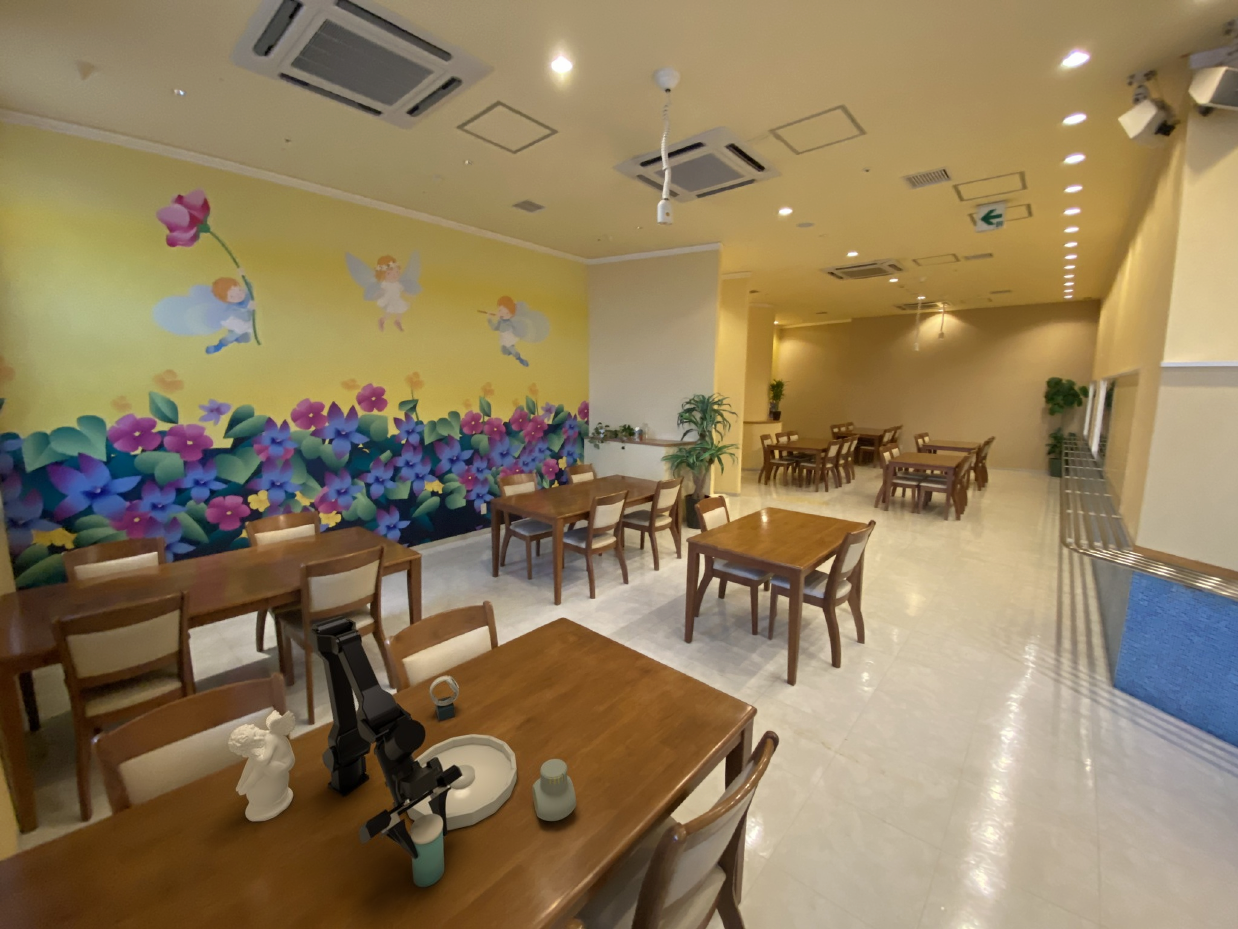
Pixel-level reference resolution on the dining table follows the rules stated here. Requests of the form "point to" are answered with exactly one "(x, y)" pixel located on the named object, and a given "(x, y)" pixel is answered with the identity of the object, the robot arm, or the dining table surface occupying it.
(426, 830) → the bead jar
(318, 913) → the dining table surface
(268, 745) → the cherub figurine
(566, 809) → the air freshener
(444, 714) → the watch
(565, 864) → the dining table surface
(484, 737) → the groove tray
